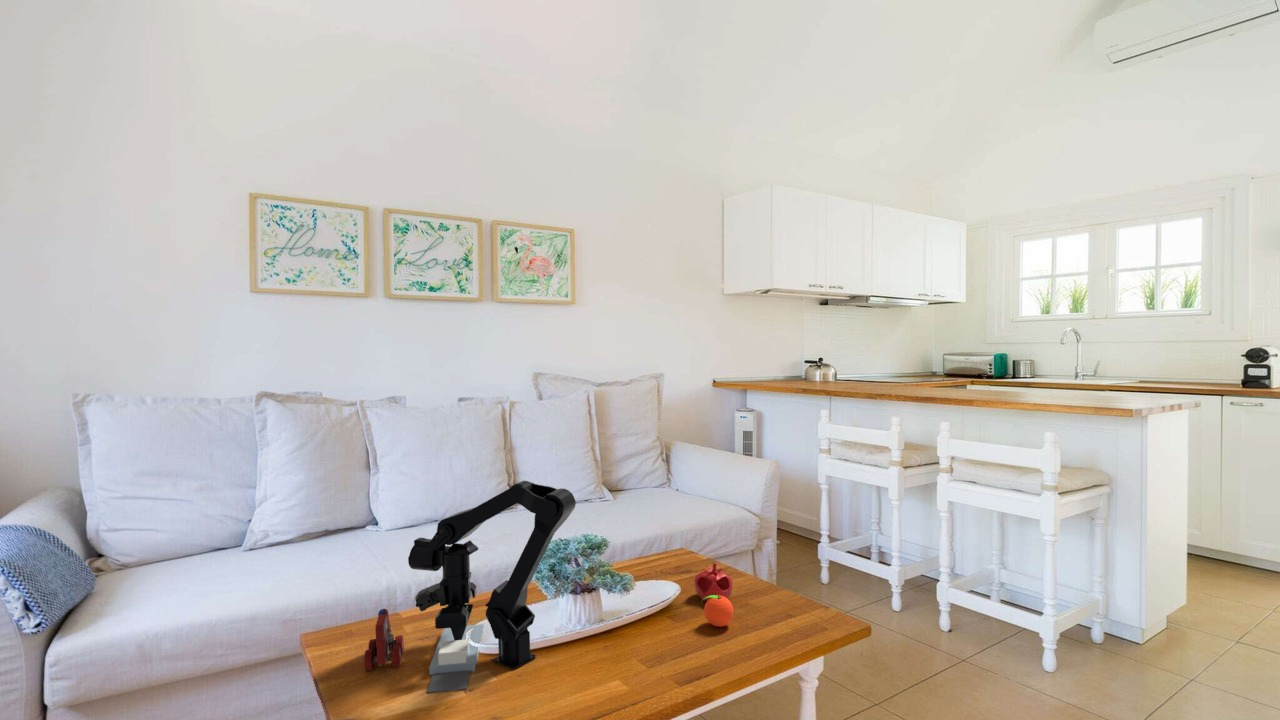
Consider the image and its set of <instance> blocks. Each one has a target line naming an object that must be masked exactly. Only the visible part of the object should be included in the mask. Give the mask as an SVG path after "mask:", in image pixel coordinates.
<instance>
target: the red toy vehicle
mask: <svg viewBox="0 0 1280 720" xmlns="http://www.w3.org/2000/svg"><path fill="white" fill-rule="evenodd" d="M377 615H378V617H377V621H376V624H375V627H374V628H375V629H374V630H375V638H374V639H370V640H369V642H368V649H366V650H365V652H364V659H363V661H364V665H363V666H364V671H372V670H373V669H374V667H375V662H376V663H377V666H378V667H381V666H382V667H383V666H386V665H387V663H388V660H391V665H392V667H393V668H394V667H395V668H396V667H399V666H400V665H401V659H402V655H403V654H404V649H405V648H404V645H405V644H404V636H403V635H402V634H401V635H400V634H399V635H396V636H394V634H393V633H392V631H393V627H392V625H391V623H390V616H389V611H388V609H386V608H381V609H380V610H378V614H377ZM389 653H390V654H389Z"/></svg>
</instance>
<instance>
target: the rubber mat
mask: <svg viewBox="0 0 1280 720" xmlns="http://www.w3.org/2000/svg"><path fill="white" fill-rule="evenodd" d="M471 673H472V671H471V670H469V671H458V672H447V673H436V674H433V675H431V679H430V682H429V684H428V687H427V690H426V694H434V693H445V692H455V691H466V690H467V689H468V685H469V681H470V676H471Z"/></svg>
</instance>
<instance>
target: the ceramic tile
mask: <svg viewBox="0 0 1280 720" xmlns="http://www.w3.org/2000/svg"><path fill="white" fill-rule="evenodd" d="M468 654H469V639H467V640H455V641H443V642H442V645H441V648H440V650H439V653H438V658H439V665H446V664H457V663H466V661H467V658H468Z"/></svg>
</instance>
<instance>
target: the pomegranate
mask: <svg viewBox="0 0 1280 720" xmlns="http://www.w3.org/2000/svg"><path fill="white" fill-rule="evenodd" d="M719 567H720V565H718V564H717V562H712V568H711V566H710V565H706V566H705V568H702V569H700V570H699V571H700V572H699V573H698V574H696V575H695V577H694V580H693V581H694V590H695V593H696V594H697V595H698V597H699V598H700V599H701V601H702V600H703V599H704V598H706V597H708V596H711V595H721V596H724V597H725V598H727V599H728V600H729V598H730V597H731V595H732V592H733V589H734V588H733V580H732V578H731V577H730V576H729V575H728V574H726V573H724V572H723V571H726V568H725V569H724V568H719ZM706 568H708V569H706ZM718 568H719V569H718ZM708 599H710V598H706V599H704V600H703V601H705V602H707V601H708Z"/></svg>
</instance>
